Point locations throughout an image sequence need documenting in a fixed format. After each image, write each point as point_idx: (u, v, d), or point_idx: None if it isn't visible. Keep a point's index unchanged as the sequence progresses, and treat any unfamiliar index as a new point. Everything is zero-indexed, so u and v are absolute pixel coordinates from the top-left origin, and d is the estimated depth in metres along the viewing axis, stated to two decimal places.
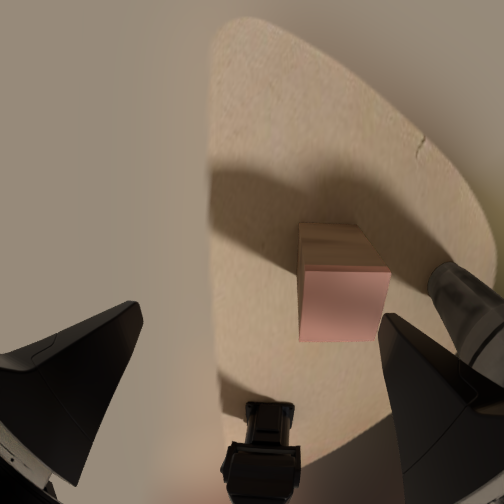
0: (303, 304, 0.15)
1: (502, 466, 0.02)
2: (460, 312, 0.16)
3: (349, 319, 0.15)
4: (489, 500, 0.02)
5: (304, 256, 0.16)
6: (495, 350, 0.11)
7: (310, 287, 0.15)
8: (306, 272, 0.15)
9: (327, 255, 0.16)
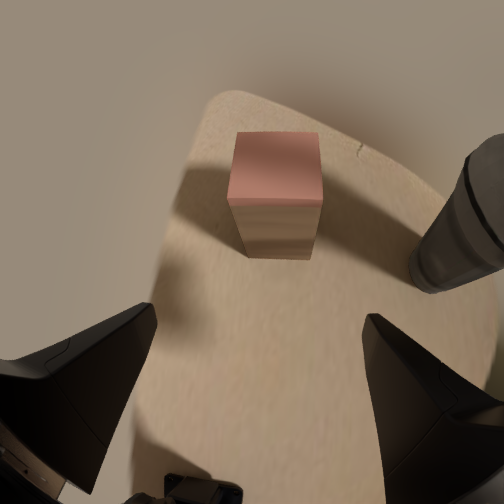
0: (234, 158, 0.15)
1: (480, 478, 0.02)
2: (441, 217, 0.14)
3: (284, 171, 0.15)
4: None
5: None
6: (476, 154, 0.09)
7: (241, 143, 0.16)
8: (238, 133, 0.16)
9: None
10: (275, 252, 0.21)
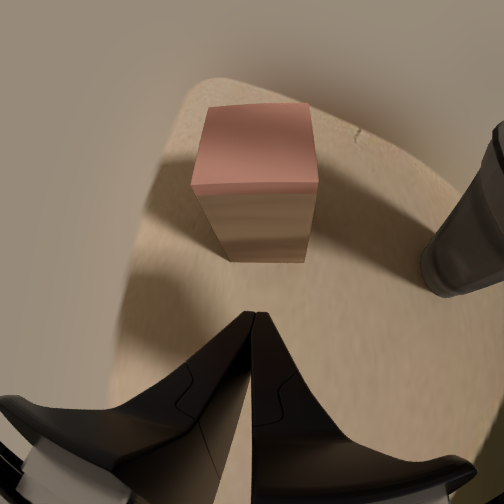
0: (202, 137, 0.12)
1: None
2: (463, 205, 0.11)
3: (265, 148, 0.11)
4: None
5: None
6: None
7: (212, 119, 0.12)
8: (209, 108, 0.12)
9: None
10: (261, 254, 0.17)
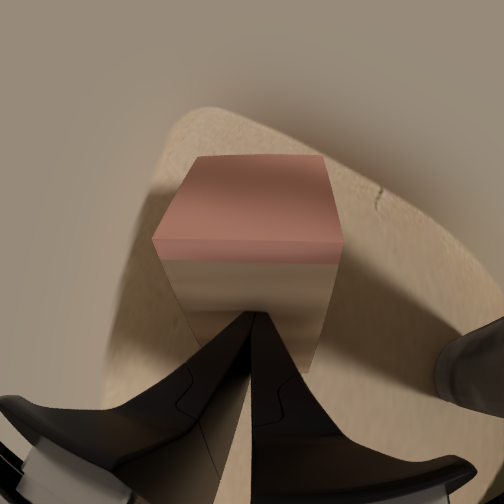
0: (183, 185, 0.09)
1: None
2: (501, 349, 0.07)
3: (265, 199, 0.08)
4: None
5: None
6: None
7: (199, 167, 0.10)
8: (198, 157, 0.11)
9: None
10: None
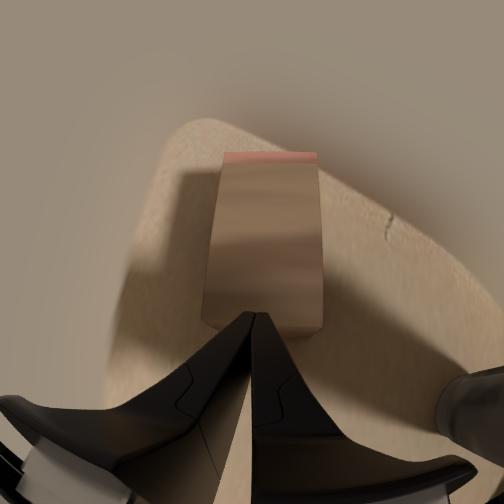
0: None
1: None
2: None
3: None
4: None
5: None
6: None
7: None
8: None
9: None
10: (256, 290, 0.11)
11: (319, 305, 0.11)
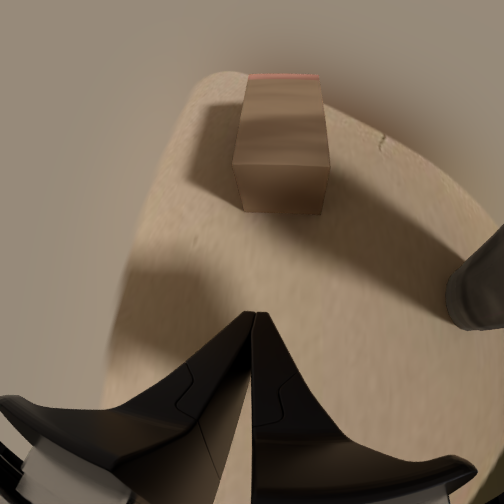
0: None
1: None
2: None
3: None
4: None
5: None
6: None
7: None
8: None
9: None
10: (276, 144, 0.14)
11: (326, 153, 0.13)
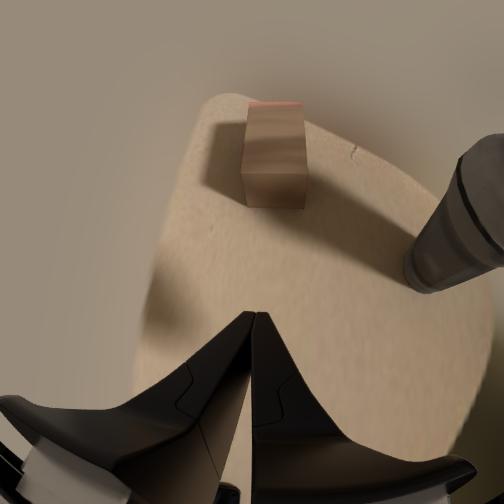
0: None
1: None
2: (434, 217, 0.15)
3: None
4: None
5: None
6: (469, 154, 0.10)
7: None
8: None
9: None
10: (271, 158, 0.20)
11: (305, 164, 0.20)
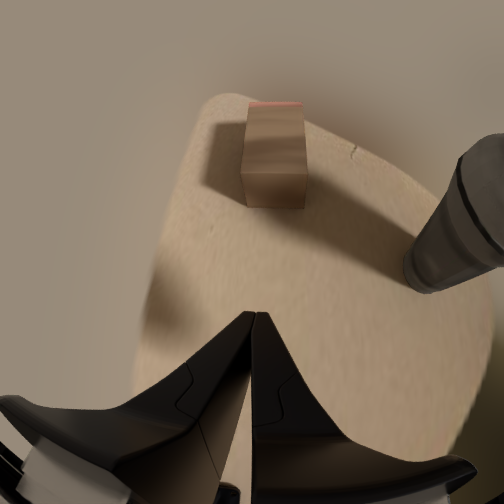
0: None
1: None
2: (434, 217, 0.15)
3: None
4: None
5: None
6: (469, 154, 0.10)
7: None
8: None
9: None
10: (271, 158, 0.20)
11: (305, 164, 0.20)
